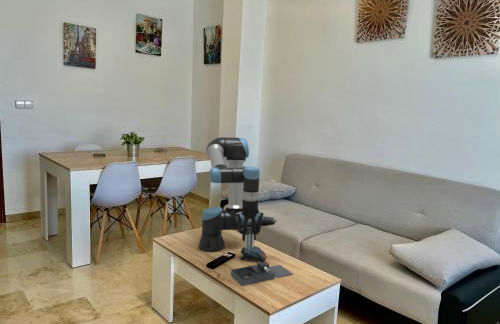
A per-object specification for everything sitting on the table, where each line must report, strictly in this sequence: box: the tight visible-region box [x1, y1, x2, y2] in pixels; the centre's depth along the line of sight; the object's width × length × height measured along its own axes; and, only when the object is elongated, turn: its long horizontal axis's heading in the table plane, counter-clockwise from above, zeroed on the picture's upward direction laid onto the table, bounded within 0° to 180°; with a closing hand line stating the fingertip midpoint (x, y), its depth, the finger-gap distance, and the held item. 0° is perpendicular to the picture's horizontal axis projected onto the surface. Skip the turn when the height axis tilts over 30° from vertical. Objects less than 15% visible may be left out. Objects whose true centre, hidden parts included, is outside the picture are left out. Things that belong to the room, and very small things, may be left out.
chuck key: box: [245, 227, 253, 253], centre depth 185 cm, size 4×6×12 cm, turn 165°
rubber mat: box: [269, 264, 294, 279], centre depth 197 cm, size 12×9×1 cm
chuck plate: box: [230, 261, 276, 287], centre depth 189 cm, size 12×18×6 cm, turn 119°
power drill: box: [235, 214, 278, 263], centre depth 210 cm, size 9×23×25 cm, turn 78°
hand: (248, 246), depth 185 cm, fingers closed on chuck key, 3 cm apart
